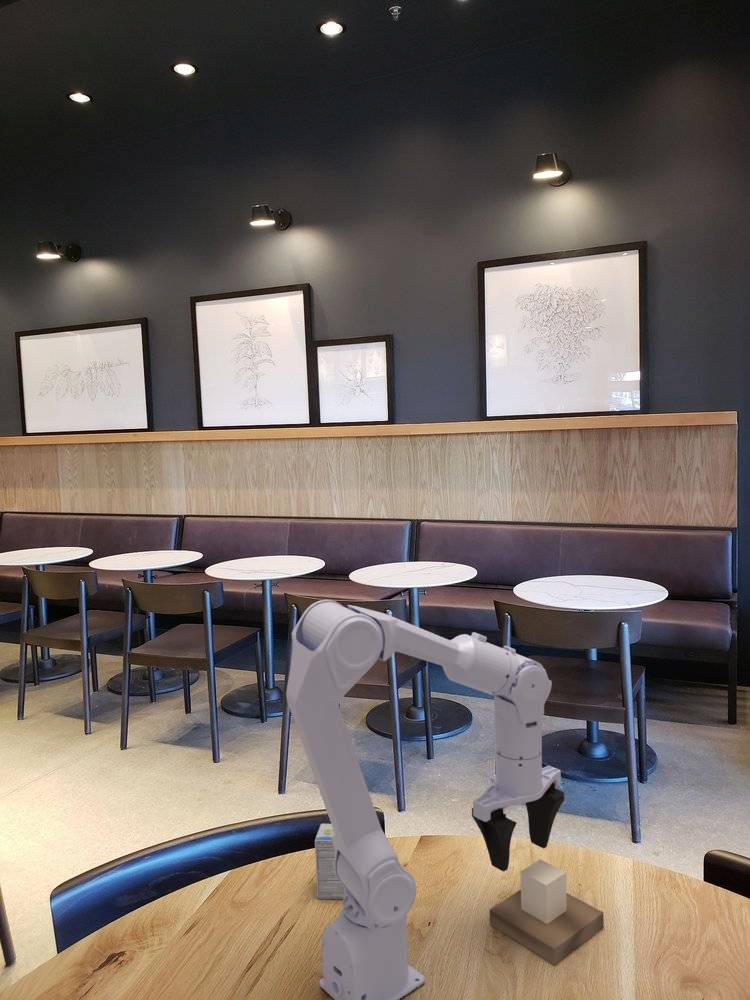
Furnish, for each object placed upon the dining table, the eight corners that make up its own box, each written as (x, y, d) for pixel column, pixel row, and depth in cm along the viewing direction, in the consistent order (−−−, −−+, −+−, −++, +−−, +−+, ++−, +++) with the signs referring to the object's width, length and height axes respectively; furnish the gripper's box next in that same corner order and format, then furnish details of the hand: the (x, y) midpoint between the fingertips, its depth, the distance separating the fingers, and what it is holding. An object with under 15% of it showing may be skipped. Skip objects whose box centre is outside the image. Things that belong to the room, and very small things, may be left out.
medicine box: (377, 882, 104) (375, 823, 103) (374, 902, 99) (372, 840, 98) (322, 881, 104) (319, 822, 104) (316, 900, 100) (314, 839, 99)
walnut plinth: (554, 965, 86) (554, 949, 86) (489, 924, 94) (489, 909, 93) (603, 927, 92) (603, 912, 92) (539, 892, 100) (538, 878, 100)
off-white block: (547, 924, 90) (546, 885, 90) (521, 909, 93) (520, 871, 93) (566, 910, 93) (566, 872, 92) (540, 896, 96) (540, 859, 95)
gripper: (530, 726, 99) (531, 823, 100) (454, 757, 90) (456, 863, 91) (574, 741, 94) (574, 844, 95) (497, 776, 85) (499, 889, 85)
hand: (519, 855), depth 92 cm, fingers open, 7 cm apart
